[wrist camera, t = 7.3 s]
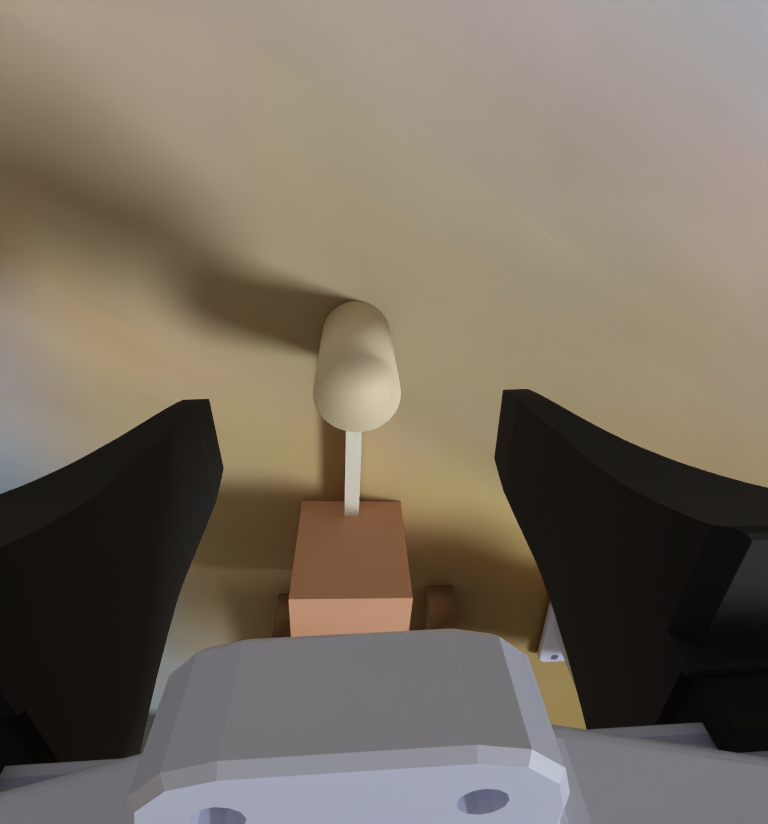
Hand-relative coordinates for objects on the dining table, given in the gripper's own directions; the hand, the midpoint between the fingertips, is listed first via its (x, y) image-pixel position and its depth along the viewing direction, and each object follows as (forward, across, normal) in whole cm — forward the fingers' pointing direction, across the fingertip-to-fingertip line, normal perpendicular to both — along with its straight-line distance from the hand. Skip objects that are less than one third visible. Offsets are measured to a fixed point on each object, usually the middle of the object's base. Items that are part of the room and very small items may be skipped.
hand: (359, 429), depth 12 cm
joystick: (+9, 0, +7) cm, 11 cm away
